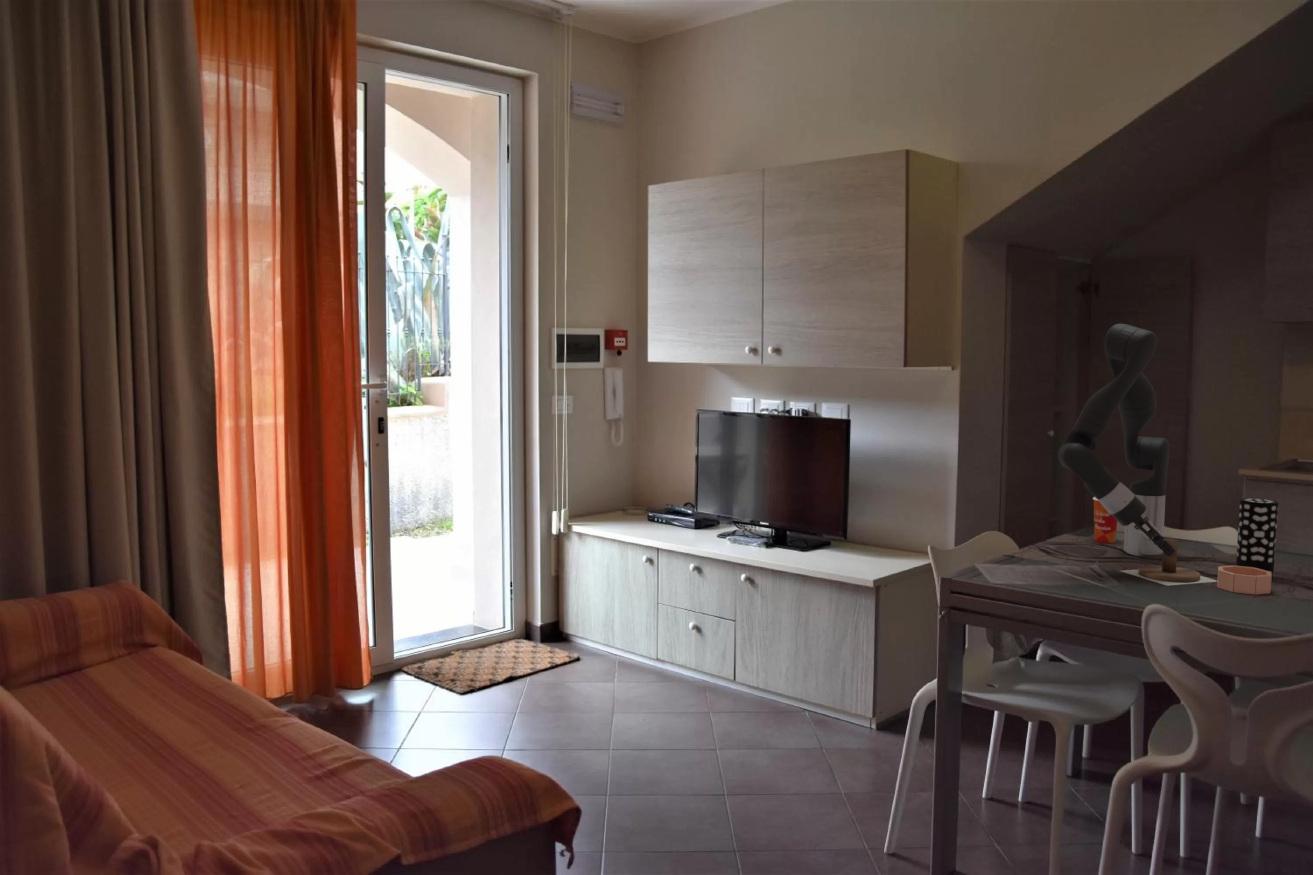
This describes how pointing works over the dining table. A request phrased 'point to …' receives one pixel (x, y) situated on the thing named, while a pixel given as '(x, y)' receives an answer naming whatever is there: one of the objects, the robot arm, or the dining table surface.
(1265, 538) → the spotted tube
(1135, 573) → the rubber mat
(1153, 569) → the walnut lid
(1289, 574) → the dining table surface
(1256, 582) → the terracotta bowl
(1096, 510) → the paper cup
